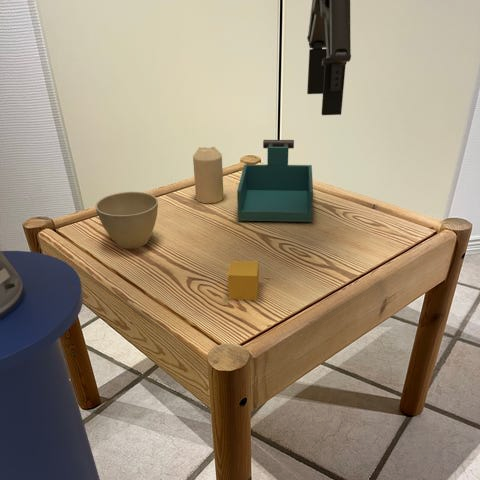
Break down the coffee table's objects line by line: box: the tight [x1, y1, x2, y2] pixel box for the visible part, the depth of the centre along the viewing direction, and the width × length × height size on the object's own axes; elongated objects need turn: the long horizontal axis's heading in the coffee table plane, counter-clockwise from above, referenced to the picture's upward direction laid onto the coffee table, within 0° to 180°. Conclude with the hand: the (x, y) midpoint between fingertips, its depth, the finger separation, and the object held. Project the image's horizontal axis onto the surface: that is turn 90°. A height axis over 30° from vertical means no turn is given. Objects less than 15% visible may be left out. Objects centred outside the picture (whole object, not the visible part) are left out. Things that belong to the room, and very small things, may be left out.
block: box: [227, 260, 260, 301], centre depth 73 cm, size 4×4×4 cm
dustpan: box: [236, 139, 314, 223], centre depth 97 cm, size 18×13×10 cm
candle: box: [192, 146, 224, 204], centre depth 100 cm, size 6×6×10 cm
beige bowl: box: [95, 191, 159, 250], centre depth 85 cm, size 10×10×7 cm
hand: (322, 103), depth 79 cm, fingers open, 13 cm apart
